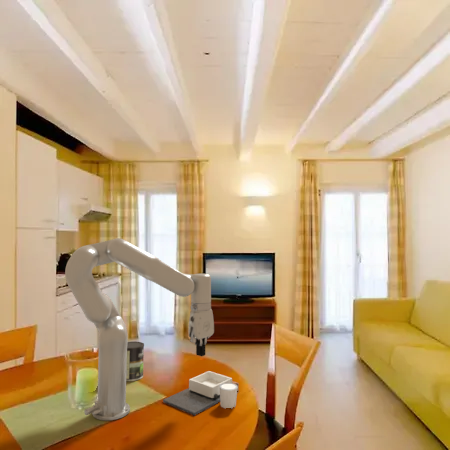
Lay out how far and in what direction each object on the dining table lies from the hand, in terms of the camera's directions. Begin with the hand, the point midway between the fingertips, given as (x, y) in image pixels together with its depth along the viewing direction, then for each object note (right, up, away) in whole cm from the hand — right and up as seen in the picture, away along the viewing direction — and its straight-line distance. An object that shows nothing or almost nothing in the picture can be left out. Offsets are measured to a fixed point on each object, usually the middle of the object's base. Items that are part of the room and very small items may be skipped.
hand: (200, 355), depth 142 cm
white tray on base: (+3, -16, +8) cm, 19 cm away
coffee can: (-32, -18, +23) cm, 43 cm away
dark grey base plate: (0, -18, +4) cm, 18 cm away
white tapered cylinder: (+10, -18, -3) cm, 21 cm away
